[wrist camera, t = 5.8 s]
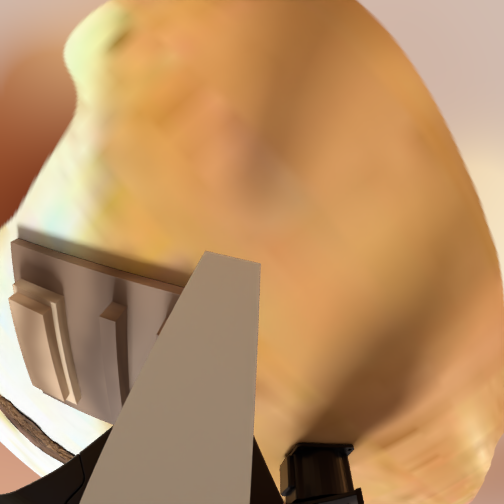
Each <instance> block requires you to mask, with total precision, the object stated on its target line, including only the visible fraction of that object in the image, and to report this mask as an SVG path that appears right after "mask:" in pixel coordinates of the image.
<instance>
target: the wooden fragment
mask: <svg viewBox="0 0 504 504" xmlns="http://www.w3.org/2000/svg"><path fill="white" fill-rule="evenodd" d="M0 410H1V411H2V412H3V413H4V414H5V416H6V417H7V418H8V419H9V420H10V422H11V423H12V424H13V425H14V426H15V427H16V428H17V429H18V430H19V431H20V432H21V433H22V434H23V435H24V436H25V437H26V438H28V439H29V440H30V442H32V443H33V444H34V445H35V446H37V447H38V448H40V449H41V450H42V451H43V452H45V453H46V454H48V455H50V456H51V457H53V458H55V459H56V460H58V461H60V462H62V463H63V464H65V463H66V462H68V461H69V460H71V459H72V458H73V457H74V456H73V455H72V454H70V453H69V452H67V451H65V450H64V449H63V448H62V447H60V446H59V445H58V444H56V443H55V442H53V441H52V440H51V439H50V438H49V437H47V436H46V435H45V434H44V433H43V432H42V431H41V430H40V429H39V428H38V427H37V426H36V425H35V424H34V423H32V422H31V421H30V420H28V419H27V418H26V417H25V416H23V415H22V414H21V413H20V412H19V411H18V410H17V409H16V408H15V407H14V406H13V405H12V404H11V403H10V402H9V401H8V400H7V399H5V398H4V397H2V396H1V395H0Z"/></svg>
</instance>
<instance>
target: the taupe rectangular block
mask: <svg viewBox="0 0 504 504" xmlns="http://www.w3.org/2000/svg"><path fill="white" fill-rule="evenodd" d="M260 269H261V264H260V263H256V262H252V261H247V260H243V259H239V258H234V257H230V256H226V255H221V254H217V253H213V252H209V251H205V252H204V254H203V256H202V258H201V259H200V261H199V263H198V265H197V266H196V268H195V270H194V272H193V273H192V275H191V277H190V279H189V281H188V282H187V284H186V286H185V288H184V290H183V291H182V293H181V295H180V297H179V299H178V301H177V302H176V304H175V306H174V308H173V310H172V312H171V314H170V315H169V317H168V319H167V321H166V323H165V325H164V327H163V329H162V330H161V332H160V334H159V336H158V338H157V340H156V342H155V344H154V346H153V348H152V350H151V351H150V353H149V355H148V357H147V359H146V361H145V363H144V365H143V367H142V369H141V371H140V373H139V375H138V377H137V379H136V381H135V383H134V385H133V387H132V389H131V391H130V393H129V395H128V397H127V399H126V401H125V403H124V405H123V407H122V410H121V412H120V414H119V416H118V418H117V420H116V422H115V424H114V426H113V428H112V431H111V433H110V435H109V437H108V439H107V441H106V444H105V446H104V448H103V450H102V452H101V455H100V457H99V459H98V461H97V464H96V466H95V468H94V470H93V473H92V475H91V477H90V480H89V482H88V484H87V487H86V489H85V491H84V494H83V496H82V499H81V501H80V503H79V504H250V488H251V470H252V451H253V432H254V411H255V390H256V368H257V345H258V321H259V296H260Z"/></svg>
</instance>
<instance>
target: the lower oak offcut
mask: <svg viewBox="0 0 504 504" xmlns="http://www.w3.org/2000/svg"><path fill="white" fill-rule="evenodd" d="M13 290H14V294H15V293H16V292H19V293H21V294H23V295H25V296H27V297H29V298H32V299H34V300H36V301H38V302H40V303H43V304H45V305H47V306H50V307H52V314H53V321H54V327H55V333H56V338H57V343H58V348H59V353H60V357H61V362H62V366H63V370H64V374H65V378H66V382H67V385H68V389H69V393H70V394H69V396H68V397H67V399H66V400H67V401H70V402H72V403H74V404H76V405H77V404H78V402H79V401H80V399H81V397H82V396H81V392H80V388H79V384H78V380H77V376H76V371H75V366H74V361H73V356H72V351H71V345H70V339H69V333H68V326H67V318H66V310H65V301H64V296H62V295H60V294H57V293H55V292H52V291H50V290H47V289H45V288H42V287H40V286H37V285H35V284H33V283H30V282H28V281H26V280H23V279H20V280H18V281H17V282H15V283H14V284H13Z"/></svg>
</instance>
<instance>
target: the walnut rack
mask: <svg viewBox="0 0 504 504" xmlns="http://www.w3.org/2000/svg"><path fill="white" fill-rule="evenodd" d="M11 253H12V263H13V271H14V279H15V282H17V281H18V280H20V279H23V280H26V281H28V282H30V283H33V284H35V285H37V286H40V287H42V288H45V289H47V290H50V291H52V292H55V293H57V294H60V295H62V296H64V301H65V310H66V318H67V326H68V333H69V339H70V345H71V351H72V356H73V361H74V366H75V371H76V376H77V380H78V384H79V388H80V392H81V396H82V397H81V399H80V401H79V402H78V404H77V405H76V404H74V403H72V402H70V401H67V400H65V402H64V401H62V400H60V399H58V398H56V397H54V396H52V395H50V394H48V393H46V392H44V391H43V393H45V394H47V395H49V396H51V397H53V398H55V399H56V400H58V401H60V402H62V403H64V404H67V405H69V406H71V407H73V408H75V409H77V410H79V411H81V412H84V413H86V414H88V415H91V416H93V417H95V418H98V419H100V420H103V421H105V422H108V423H110V424H113V426H114V424H115V422H116V420H117V418H118V416H119V414H120V412H121V410H122V407H123V405H124V403H125V401H126V399H127V397H128V395H129V393H130V391H131V389H132V387H133V385H134V383H135V381H136V379H137V377H138V375H139V373H140V371H141V369H142V367H143V365H144V363H145V361H146V359H147V357H148V355H149V353H150V351H151V350H152V348H153V346H154V344H155V342H156V340H157V338H158V336H159V334H160V332H161V330H162V329H163V327H164V325H165V323H166V321H167V319H168V317H169V315H170V314H171V312H172V310H173V308H174V306H175V304H176V302H177V301H178V299H179V297H180V295H181V293H182V291H183V290H184V287H180V286H176V285H172V284H168V283H164V282H161V281H157V280H153V279H149V278H146V277H142V276H138V275H135V274H131V273H128V272H124V271H121V270H117V269H114V268H110V267H107V266H103V265H100V264H96V263H93V262H90V261H87V260H83V259H80V258H77V257H73V256H70V255H67V254H64V253H61V252H58V251H55V250H52V249H48V248H45V247H42V246H39V245H36V244H33V243H30V242H28V241H25V240H22V239H19V238H18V239H16V240H14V241H12V242H11Z"/></svg>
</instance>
